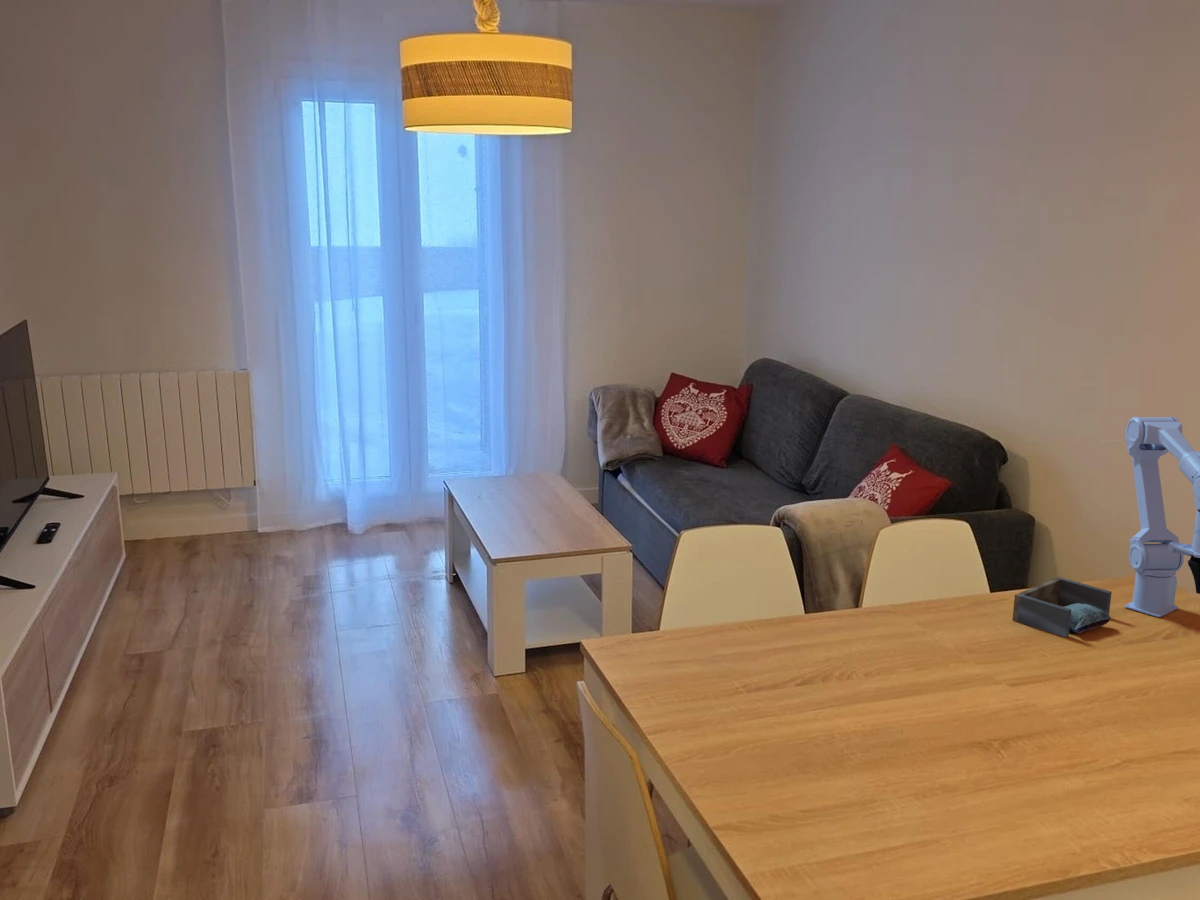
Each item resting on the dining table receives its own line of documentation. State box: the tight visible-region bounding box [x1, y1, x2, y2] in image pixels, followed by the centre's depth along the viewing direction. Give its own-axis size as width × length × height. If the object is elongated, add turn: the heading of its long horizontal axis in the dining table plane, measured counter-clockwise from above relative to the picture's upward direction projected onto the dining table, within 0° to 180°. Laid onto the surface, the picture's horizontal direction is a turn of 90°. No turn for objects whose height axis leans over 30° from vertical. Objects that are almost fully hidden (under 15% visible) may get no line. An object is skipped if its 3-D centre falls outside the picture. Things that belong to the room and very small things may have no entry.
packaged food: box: [1064, 603, 1111, 634], centre depth 227 cm, size 9×12×5 cm
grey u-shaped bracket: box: [1011, 576, 1113, 638], centre depth 231 cm, size 19×12×6 cm, turn 128°
